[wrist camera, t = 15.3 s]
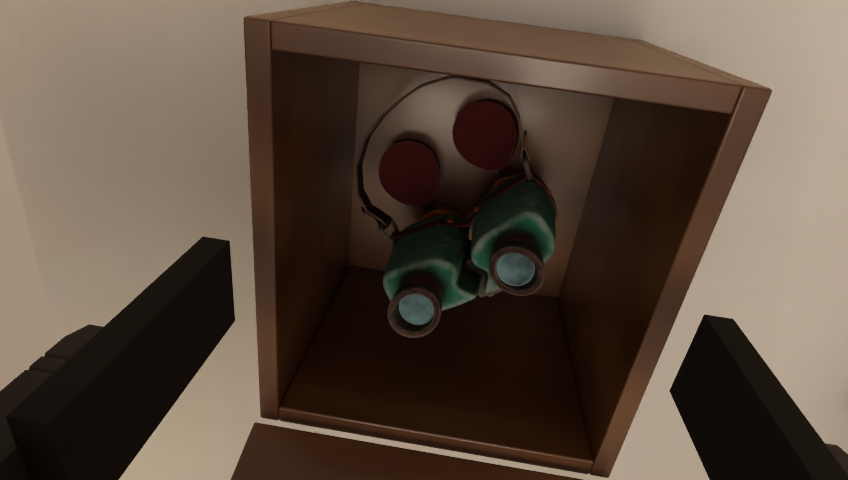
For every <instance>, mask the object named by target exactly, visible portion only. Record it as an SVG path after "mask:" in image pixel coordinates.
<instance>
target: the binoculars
mask: <svg viewBox="0 0 848 480" xmlns="http://www.w3.org/2000/svg"><path fill="white" fill-rule="evenodd" d="M451 78H455V79H460V80H466V81H471V82H477V83H482V84H487V85H490V86H491V87H492V88H494V89H495V90H497V91H498V92H500V93H501V94H503V95H504V96H506V97H507V98H508V99H509V101H510V103H511V106H512V108H513V110H514V112H515V114H516V116H517V118H518V121H517V118H516V116H515V114H514V112H513V111H512V110H511V109H510V108H509V107H508V106H507V105H506V104H504V103H503V102H501V101H498V100H495V99H481V100H478V101H475V102H473V103H471V104H469V105H468V106H466V107H465V108H464V109H463V110H462V111H461V112H460V113H459V114H458V116H457V117H456V119H455V122H454V125H453V131H452V135H453V142H454V145H455V147H456V149H457V151H458V152H459V154H460V155H461V156H462V157H463V158H464V159H465V160H466V161H467V162H469V163H470V164H472V165H473V166H475V167H477V168H480V169H483V170H488V171H494V170H498V171H499V174H500V175H499V176H497V177H496V179H495V180H494V182H493V185H492V188H491V191H490V192H489V193H488V194H486V195H485V196H484V197H483V198H482V200H481V201H480V202H479V204H478V206H476V207H475V208H474V214H473V215H472V216H471V217H470V218H469V219H468V220H466V219H464V218H463V217H461V216H460V215H459V214H458V213H457V212H455V211H454V210H452V209H450V208H448V207H445V206H439V205H435V202H434V200H433V197H434V195H435V193H436V190H437V188H438V184H439V179H440V166H439V161H438V159H437V156H436V154H435V153H434V151H433V150H432V149H431V148H430V147H429V146H428V145H426V144H424V143H423V142H420V141H417V140H403V141H400V142H398V143H396V144H394V145H392V146H391V147H389V148H388V149H387V150H386V151H385V152H384V154H383V156H382V157H381V159H380V163H379V168H378V174H379V180H380V182H381V185H382V187H383V188H384V190H385V191H386V192H387V193H388V194H389V195H390V196H391V197H392V198H394V199H395V200H397V201H398V202H401V203H403V204H405V205H409V206H422V207H423V209H424V213H423V215H422V217H421V220H420V222H417V223H414V224H411V225H409V226H407V227H405V228H404V229H403V230H402V231H400V232H399V229H398V227H397V225H396V223H395V222H394V220H393V218H392V217H391V216H390V215H387V214H386V213H385V212H383V211H382V210H380V209H379V208H377V207H376V206H374V205H372V203H371V201H370V199H369V197H368V195H367V194H366V192H365V190H364V184H363V167H362V162H363V159H364V156H365V153H366V150H367V147H368V144H369V141H370V137H371V135H372V134H373V132H374V131H375V129H376V128H377V127H378V125H379V124H380V123H381V121H382V120H383V119H384V117H385V116H386V115H387V114H388V113H389V112H390V111H391V110H392V109H393V108H394V107H395V106H397V105H398V104H399V103H400V102H401V101H402V100H403V99H405V98H406V97H408V96H409V95H411V94H412V93H414V92H415V91H417V90H418V89H420V88H421V87H423V86H427V85H430V84H434V83H437V82H440V81H444V80H447V79H451ZM518 123H519V126H518ZM519 129H520V135H521V145H520V152H519V154H520V160H521V163H523V165H524V168H525V172H523V173H521V172H516V171H513V169H512V166H511V164H510V162H509V160H510V159H511V157H512V156H513V154H514V152H515V150H516V148H517V144H518V139H519ZM526 136H527V130H525V131H524V134H523V132H522V126H521V120H520V115H519V112H518V110H517V108H516V106H515V104H514V102H513V100H512V97H511V95H510V94H509V93H507V92H506V91H505V90H503V89H502V88H500V87H499V86H497V85H496V84H494V83H493V82H491V81H489V80H482V79H475V78H468V77H461V76H454V75H449V76H446V77H443V78H439V79H436V80H432V81H429V82H425V83H423V84H421V85H419V86H418V87H416V88H415V89H413V90H412V91H410V92H409V93H407V94H406V95H404V96H403V97H401V98H400V99H398V100H397V101H396V102H395V103H394V104H393V105H392V106H390V107H389V108H388V109H387V110H386V111H385V112H384V113H383V114H382V115H381V116H380V117H379V118H378V119H377V121H376V122H375V124H374V125H373V126H372V128H371V129H370V130H369V132H368V133H367V134H366V136H365V137H364V139H363V143H362V146H361V149H360V152H359V155H358V158H357V162H356V165H355V179H356V194H357V196H358V198H359V200H360V202H361V204H362V206H363V207H361V209H362V212H363V213H364V214H367V215H368V216H370V217H372V218H373V219H374V221H375V222H376V224H377V226H378V230H379V232H380V234H381V235H382V236H383V237H384V238H385V239H386V240H387V241H389V242H391V243H392V253H391V256H390V258H389V261H388V264H387V266H386V269H385V272H384V275H383V286H384V289H385V292H386V294H387V296H388V298H389V300H390V301H391V302H390V304H389V307H388V311H387V316H388V321H389V323H390V326H391V327H392V328H393V330H394V331H396V332H397V333H398V334H400V335H402V336H404V337H408V338H418V337H422V336H425V335H427V334H429V333H430V332H431V331H433V329H434V328H435V327H436V326H437V324H438V323H439V320H440V317H441V311H442V310H446V309H449V308H452V307H455V306H458V305H461V304H463V303H465V302H468V301H470V300H472V299H474V298H476V296H477V295H479V297H484V296H489V297H491V296H494V294H495V293H497V292H498V293H499V292H501V291H502V290H503V291H505V292H507V293H509V294H512V295H516V296H527V295H531V294H534V293H535V292H537V291H538V290H539V289H540V288H541V287H542V286H543V284H544V281H545V268H544V263H545V262H546V261H548V260H549V258H550V257H551V256H552V254H553V252H554V250H555V246H556V226H555V220H556V218H557V216H558V212H557V207H556V203H555V200H554V198H553V196H552V194H553V192H552V190H551V189H548V188H547V186H546V184H545V183H544V181H543V180H542V178H541V177H540V176H539V175H538V174H536V173H533V170H532V169H531V167H530V163H529V162H530V155H529V151H528V148H527V145H526V144H527V142H528V137H526ZM523 137H524V138H523ZM523 147H524V149H525V150H523ZM473 221H474V223H473V229H472V240H470V239H469V230H470V226H469V225H471V224H472V222H473ZM390 224H391V225H392V226H393V228H394V231H393V232H392V234H391V236H389V235H388V234H387V233H386V232H385V230H386V229H387V228H388V227H389V225H390Z"/></svg>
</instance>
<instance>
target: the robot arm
mask: <svg viewBox="0 0 848 480" xmlns="http://www.w3.org/2000/svg"><path fill="white" fill-rule="evenodd" d="M234 321H235V315H234V300H233V285H232V271H231V256H230V241H227V240H221V239H214V238H208V237H202V238H201V239H200V240H199V241H198V242H196V243H195V244H194V245H193V246H192V247H191V248H190V249H189V250H188V251H187V252H186V253H184V254H183V255H182V256H181V257H180V258H179V259H178V260H177V261H176V262H175V263H173V264H172V265H171V266H170V267H169V268H168V269H167V270H166V271H165V272H164V273H163V274H161V275H160V276H159V277H158V278H157V279H156V280H155V281H154V282H153V283H152V284H150V285H149V286H148V287H147V288H146V289H145V290H144V291H143V292H142V293H141V294H139V295H138V296H137V297H136V298H135V299H134V300H133V301H132V302H131V303H130V304H129V305H127V306H126V307H125V308H124V309H123V310H122V311H121V312H120V313H119V314H118V315H116V316H115V317H114V318H113V319H112V320H111V321H110V322H109V323H108V324H107V325H105V326H104V327H101V326H95V325H87V326H85V327H83V328H81V329H79V330H77V331H75V332H73V333H71V334H69V335H67V336H65V337H64V338H63V339H61V340H60V341H59V342H58V343H57V344H56V345H54V346H53V347H52V348H51V349H50V350H49V351H47V352H46V353H45V356H44V357H40V358H39V359H38V360H37V361H36V362H34V363H33V364H32V365H31V366H30V368H29V370H25V371H24V372H23V373H21V374H20V375H19V376H18V377H17V378H15V379H14V380H13V381H12V382H11V383H10V384H9V385H7V386H6V387H5V388H4V389H3V390H1V391H0V480H119V478H120V477H121V475H122V474H123V473H124V471H125V470H126V469H127V467H128V466H129V465H130V463H131V462H132V460H133V459H134V458H135V456H136V455H137V454H138V452H139V451H140V450H141V448H142V447H143V445H144V444H145V443H146V441H147V440H148V439H149V437H150V436H151V435H152V433H153V432H154V430H155V429H156V428H157V426H158V425H159V424H160V422H161V421H162V419H163V418H164V417H165V415H166V414H167V413H168V411H169V410H170V409H171V407H172V406H173V404H174V403H175V402H176V400H177V399H178V398H179V396H180V395H181V394H182V392H183V391H184V389H185V388H186V387H187V385H188V384H189V383H190V381H191V380H192V379H193V377H194V376H195V374H196V373H197V372H198V370H199V369H200V368H201V366H202V365H203V363H204V362H205V361H206V359H207V358H208V357H209V355H210V354H211V353H212V351H213V350H214V348H215V347H216V346H217V344H218V343H219V342H220V340H221V339H222V338H223V336H224V335H225V333H226V332H227V331H228V329H229V328H230V327H231V325H232V324H233V323H234ZM670 393H671V395H672V397H673V399H674V401H675V404H676V406H677V408H678V410H679V413H680V415H681V417H682V419H683V421H684V424H685V426H686V428H687V430H688V432H689V435H690V437H691V439H692V441H693V444H694V446H695V448H696V450H697V452H698V455H699V457H700V459H701V461H702V463H703V466H704V468H705V470H706V472H707V474H708V477H709V479H710V480H848V454H847V453H845V452H844V451H843V450H842V449H841V448H840V447H838V446H837V445H831V444H825V443H824V442H823V441H822V439H821V438H820V436H819V435H818V434H817V432H816V431H815V430H814V428H813V427H812V426H811V424H810V423H809V422H808V420H807V419H806V417H805V416H804V415H803V413H802V412H801V411H800V409H799V408H798V407H797V405H796V404H795V402H794V401H793V400H792V398H791V397H790V396H789V394H788V393H787V392H786V390H785V389H784V388H783V386H782V385H781V383H780V382H779V381H778V379H777V378H776V377H775V375H774V374H773V373H772V371H771V370H770V368H769V367H768V366H767V364H766V363H765V362H764V360H763V359H762V358H761V356H760V355H759V354H758V352H757V351H756V349H755V348H754V347H753V345H752V344H751V343H750V341H749V340H748V339H747V337H746V336H745V334H744V333H743V332H742V330H741V329H740V328H739V326H738V325H737V324H736V322H735V321H734V320H733V319H730V318H723V317H717V316H710V315H704V316H703V319H702V321H701V323H700V325H699V327H698V330H697V332H696V334H695V336H694V338H693V341H692V343H691V345H690V347H689V349H688V352H687V354H686V356H685V358H684V360H683V363H682V365H681V367H680V369H679V371H678V374H677V376H676V378H675V380H674V382H673V385H672V387H671V389H670Z"/></svg>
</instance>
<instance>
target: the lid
mask: <svg viewBox="0 0 848 480" xmlns="http://www.w3.org/2000/svg"><path fill="white" fill-rule="evenodd" d="M231 480H582V479H576V478H570V477H565V476H559V475H553V474H547V473H542V472H536V471H530V470H524V469H519V468H513V467H507V466H501V465H496V464H490V463H484V462H478V461H473V460H467V459H461V458H456V457H450V456H444V455H438V454H433V453H427V452H421V451H415V450H410V449H404V448H398V447H392V446H387V445H381V444H375V443H370V442H364V441H358V440H352V439H347V438H341V437H335V436H329V435H324V434H318V433H312V432H306V431H301V430H295V429H289V428H284V427H278V426H272V425H266V424H261V423H254V425H253V427H252V430H251V432H250V435H249V437H248V439H247V442H246V444H245V447H244V449H243V452H242V454H241V456H240V459H239V461H238V464H237V466H236V469H235V471H234V473H233V476H232V478H231Z"/></svg>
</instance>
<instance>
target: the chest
mask: <svg viewBox="0 0 848 480" xmlns="http://www.w3.org/2000/svg"><path fill="white" fill-rule="evenodd" d="M244 38H245V62H246V85H247V109H248V132H249V155H250V179H251V202H252V225H253V249H254V272H255V295H256V319H257V342H258V365H259V389H260V412H261V417H262V418H267V419H272V420H280V421H284V422H290V423H296V424H302V425H307V426H313V427H319V428H325V429H330V430H336V431H342V432H348V433H353V434H359V435H365V436H371V437H376V438H382V439H388V440H394V441H399V442H405V443H411V444H417V445H422V446H428V447H434V448H440V449H445V450H451V451H457V452H463V453H468V454H474V455H480V456H486V457H491V458H497V459H503V460H509V461H514V462H520V463H526V464H532V465H537V466H543V467H549V468H555V469H560V470H566V471H572V472H578V473H583V474H589V473H590V475H594V476H600V477H606V478H608V477H609V475H610V473H611V470H612V468H613V466H614V463H615V461H616V459H617V456H618V454H619V452H620V449H621V447H622V444H623V442H624V440H625V437H626V435H627V433H628V430H629V428H630V426H631V423H632V421H633V419H634V416H635V414H636V411H637V409H638V407H639V404H640V402H641V400H642V397H643V395H644V393H645V390H646V388H647V385H648V383H649V381H650V378H651V376H652V374H653V371H654V369H655V367H656V364H657V362H658V359H659V357H660V355H661V352H662V350H663V348H664V345H665V343H666V341H667V338H668V336H669V333H670V331H671V329H672V326H673V324H674V322H675V319H676V317H677V315H678V312H679V310H680V308H681V305H682V303H683V300H684V298H685V296H686V293H687V291H688V289H689V286H690V284H691V282H692V279H693V277H694V274H695V272H696V270H697V267H698V265H699V263H700V260H701V258H702V256H703V253H704V251H705V248H706V246H707V244H708V241H709V239H710V237H711V234H712V232H713V230H714V227H715V225H716V223H717V220H718V218H719V215H720V213H721V211H722V208H723V206H724V204H725V201H726V199H727V197H728V194H729V192H730V189H731V187H732V185H733V182H734V180H735V178H736V175H737V173H738V171H739V168H740V166H741V163H742V161H743V159H744V156H745V154H746V152H747V149H748V147H749V145H750V142H751V140H752V138H753V135H754V133H755V130H756V128H757V126H758V123H759V121H760V119H761V116H762V114H763V112H764V109H765V107H766V104H767V102H768V100H769V97H770V95H771V93H772V90H771V89H770V88H767V87H764V86H762V85H759V84H756V83H754V82H751V81H748V80H746V79H743V78H740V77H738V76H735V75H732V74H730V73H727V72H725V71H722V70H719V69H717V68H714V67H711V66H709V65H706V64H703V63H701V62H698V61H695V60H693V59H690V58H687V57H685V56H682V55H680V54H677V53H674V52H672V51H669V50H666V49H664V48H661V47H658V46H656V45H653V44H650V43H648V42H645V41H643V40H635V39H628V38H620V37H613V36H606V35H598V34H591V33H583V32H576V31H569V30H561V29H554V28H546V27H539V26H532V25H524V24H517V23H509V22H502V21H495V20H487V19H480V18H473V17H465V16H458V15H450V14H443V13H436V12H428V11H421V10H413V9H406V8H399V7H391V6H384V5H376V4H369V3H362V2H354V1H349V2H344V3H337V4H330V5H323V6H316V7H309V8H302V9H295V10H288V11H281V12H274V13H267V14H260V15H253V16H246V17H244ZM449 75H454V76H461V77H468V78H475V79H482V80H489V81H491V82H493V83H494V84H496V85H497V86H499V87H500V88H502V89H503V90H505V91H506V92H507V93H509V94H510V95H511V97H512V100H513V102H514V104H515V106H516V108H517V110H518V112H519V115H520V120H521V126H522V132H523V134H524V131H525V130H527V136H526V137H528V142H527V144H526V145H527V148H528V151H529V155H530V162H529V163H530V167H531V169H532V170H533V173H536V174H538V175H539V176H540V177H541V178H542V180H543V181H544V183H545V184H546V186H547V188H548V189H551V190H552V192H553V194H552V196H553V198H554V200H555V203H556V207H557V212H558V216H557V218H556V220H555V226H556V246H555V250H554V252H553V254H552V256H551V257H550V258H549V260H548V261H546V262H545V263H544V268H545V281H544V284H543V286H542V287H541V288H540V289H539V290H538V291H537V292H535V293H534V294H531V295H527V296H516V295H512V294H509V293H507V292H505V291H503V290H502V291H501V292H499V293H498V292H497V293H495V294H494V296H491V297H489V296H484V297H479V295H477V296H476V298H474V299H472V300H470V301H468V302H465V303H463V304H461V305H458V306H455V307H452V308H449V309H446V310H442V311H441V317H440V320H439V323H438V324H437V326H436V327H435V328H434V329H433V331H431V332H430V333H429V334H427V335H425V336H422V337H418V338H408V337H404V336H402V335H400V334H398V333H397V332H396V331H394V330H393V328H392V327H391V326H390V323H389V321H388V316H387V311H388V307H389V304H390V302H391V301H390V300H389V298H388V296H387V294H386V292H385V289H384V286H383V275H384V272H385V269H386V266H387V264H388V261H389V258H390V256H391V253H392V243H391V242H389V241H387V240H386V239H385V238H384V237H383V236H382V235H381V234H380V232H379V230H378V226H377V224H376V222H375V221H374V219H373V218H372V217H370V216H368V215H367V214H364V213H363V212H362V209H361V207H363V206H362V204H361V202H360V200H359V198H358V196H357V194H356V179H355V165H356V162H357V158H358V155H359V152H360V149H361V146H362V143H363V139H364V137H365V136H366V134H367V133H368V132H369V130H370V129H371V128H372V126H373V125H374V124H375V122H376V121H377V119H378V118H379V117H380V116H381V115H382V114H383V113H384V112H385V111H386V110H387V109H388V108H389V107H390V106H392V105H393V104H394V103H395V102H396V101H397V100H398V99H400V98H401V97H403V96H404V95H406V94H407V93H409V92H410V91H412V90H413V89H415V88H416V87H418V86H419V85H421V84H423V83H425V82H429V81H432V80H436V79H439V78H443V77H446V76H449ZM481 99H495V100H498V101H501V102H503V103H504V104H506V105H507V106H508V107H509V108H510V109H511V110H512V111H513V112H514V110H513V108H512V106H511V103H510V101H509V99H508V98H507V97H506V96H504V95H503V94H501V93H500V92H498V91H497V90H495V89H494V88H492V87H491V86H490V85H487V84H482V83H477V82H471V81H466V80H460V79H455V78H451V79H447V80H444V81H440V82H437V83H434V84H430V85H427V86H423V87H421V88H420V89H418V90H417V91H415V92H414V93H412V94H411V95H409V96H408V97H406V98H405V99H403V100H402V101H401V102H400V103H399V104H398V105H397V106H395V107H394V108H393V109H392V110H391V111H390V112H389V113H388V114H387V115H386V116H385V117H384V119H383V120H382V121H381V123H380V124H379V125H378V127H377V128H376V129H375V131H374V132H373V134H372V135H371V137H370V141H369V144H368V147H367V150H366V153H365V156H364V159H363V162H362V167H363V184H364V190H365V192H366V194H367V195H368V197H369V199H370V201H371V203H372V205H374V206H376V207H377V208H379V209H380V210H382V211H383V212H385V213H386V214H387V215H390V216H391V217H392V218H393V220H394V222H395V223H396V225H397V227H398V229H399V232H400V231H402V230H403V229H404V228H405V227H407V226H409V225H411V224H414V223H417V222H420V220H421V217H422V215H423V213H424V209H423V207H422V206H409V205H405V204H403V203H401V202H398V201H397V200H395V199H394V198H392V197H391V196H390V195H389V194H388V193H387V192H386V191H385V190H384V188H383V187H382V185H381V182H380V180H379V174H378V168H379V163H380V159H381V157H382V156H383V154H384V152H385V151H386V150H387V149H388V148H389V147H391V146H392V145H394V144H396V143H398V142H400V141H403V140H417V141H420V142H423V143H424V144H426V145H428V146H429V147H430V148H431V149H432V150H433V151H434V153H435V154H436V156H437V159H438V161H439V166H440V179H439V184H438V188H437V190H436V193H435V195H434V197H433V200H434V202H435V205H439V206H445V207H448V208H450V209H452V210H454V211H455V212H457V213H458V214H459V215H460V216H461V217H463V218H464V219H466V220H468V219H469V218H470V217H471V216H472V215H473V214H474V208H475V207H476V206H478V204H479V202H480V201H481V200H482V198H483V197H484V196H485V195H486V194H488V193H489V192H490V191H491V188H492V185H493V182H494V180H495V179H496V177H497V176H499V175H500V174H499V171H498V170H494V171H488V170H483V169H480V168H477V167H475V166H473V165H472V164H470V163H469V162H467V161H466V160H465V159H464V158H463V157H462V156H461V155H460V154H459V152H458V151H457V149H456V147H455V145H454V142H453V135H452V131H453V125H454V122H455V119H456V117H457V116H458V114H459V113H460V112H461V111H462V110H463V109H464V108H465V107H466V106H468V105H469V104H471V103H473V102H475V101H478V100H481ZM514 114H515V112H514ZM515 116H516V114H515ZM516 118H517V116H516ZM517 121H518V118H517ZM518 126H519V123H518ZM523 138H524V137H523ZM520 145H521V135H520V129H519V139H518V144H517V148H516V150H515V152H514V154H513V156H512V157H511V159H510V160H509V162H510V164H511V166H512V169H513V171H516V172H521V173H523V172H525V168H524V165H523V163H521V160H520V154H519V152H520ZM523 150H525V149H524V147H523ZM473 223H474V221H473V222H472V224H471V225H469V226H470V230H469V239H470V240H472V229H473ZM393 231H394V228H393V226H392V225H391V224H390V225H389V227H388V228H387V229H386V230H385V232H386V233H387V234H388V235H389V236H391V234H392V232H393Z"/></svg>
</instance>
